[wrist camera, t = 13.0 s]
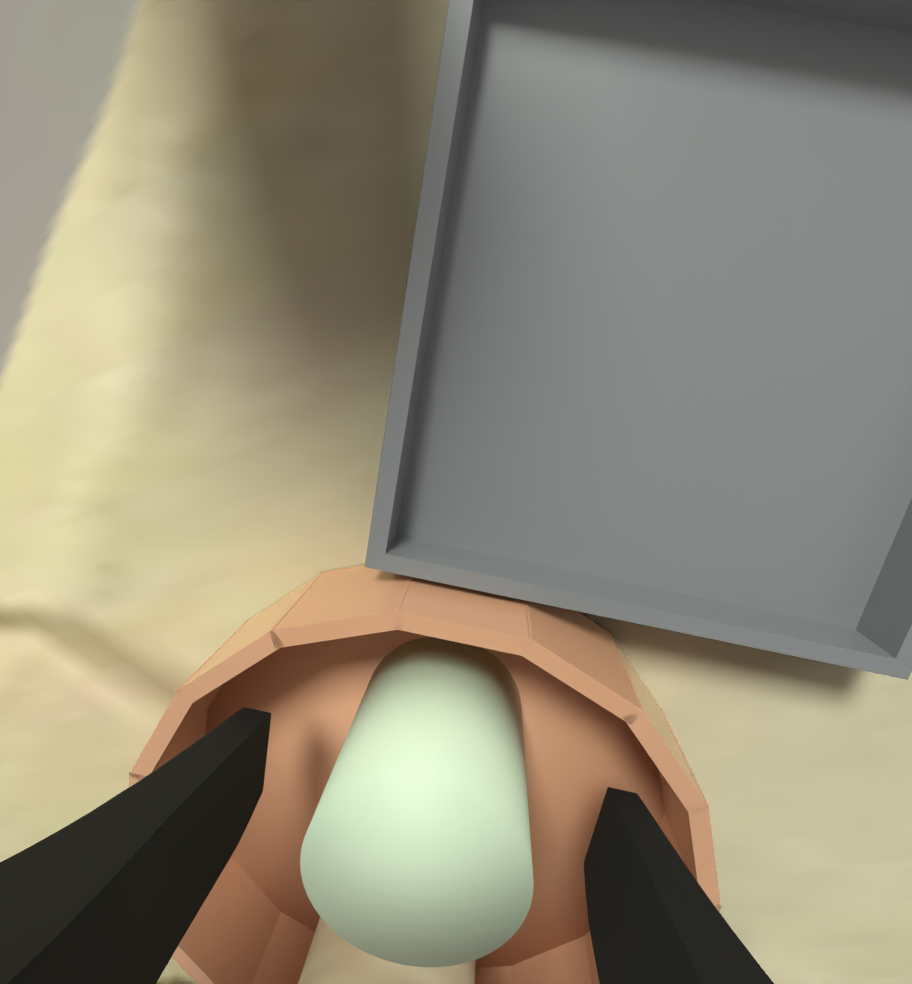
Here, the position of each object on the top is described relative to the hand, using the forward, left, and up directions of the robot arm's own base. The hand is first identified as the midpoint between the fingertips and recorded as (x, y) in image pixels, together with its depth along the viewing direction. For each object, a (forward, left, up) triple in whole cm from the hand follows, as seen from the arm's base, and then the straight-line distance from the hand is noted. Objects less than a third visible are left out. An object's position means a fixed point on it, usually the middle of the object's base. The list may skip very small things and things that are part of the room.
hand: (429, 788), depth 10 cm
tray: (-3, -10, -3) cm, 11 cm away
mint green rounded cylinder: (0, 0, -2) cm, 3 cm away
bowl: (0, +3, -3) cm, 4 cm away
